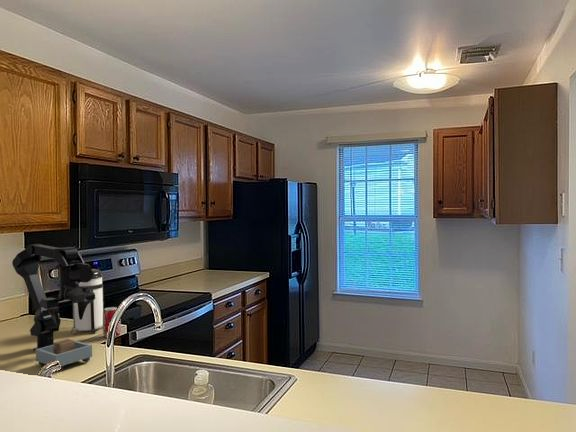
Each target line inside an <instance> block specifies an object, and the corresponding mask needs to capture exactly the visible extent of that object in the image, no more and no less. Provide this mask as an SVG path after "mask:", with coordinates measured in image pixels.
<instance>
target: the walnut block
mask: <svg viewBox="0 0 576 432" xmlns="http://www.w3.org/2000/svg"><path fill="white" fill-rule="evenodd" d="M75 341H76V340H75ZM75 341H74V339H70V338H65V339H61V340H57V341H54V342H53V350H54V354H60V353H64V352H67V351H71V350H74V349H75Z"/></svg>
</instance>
